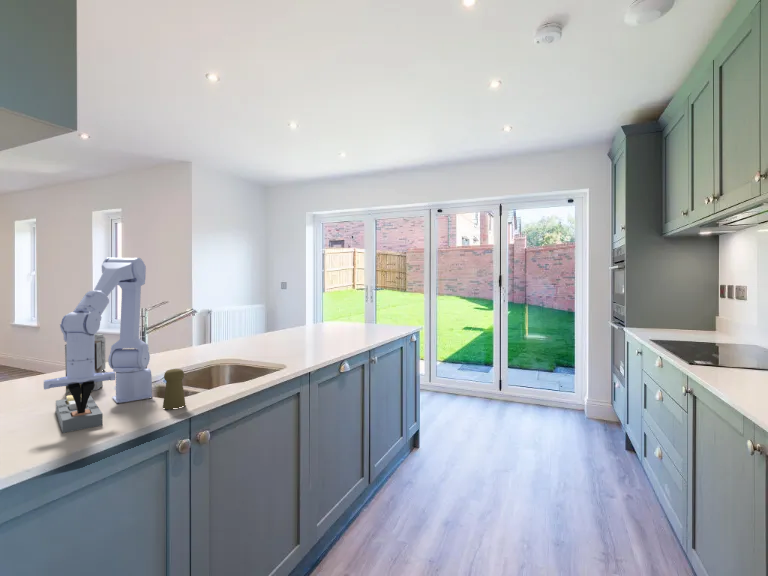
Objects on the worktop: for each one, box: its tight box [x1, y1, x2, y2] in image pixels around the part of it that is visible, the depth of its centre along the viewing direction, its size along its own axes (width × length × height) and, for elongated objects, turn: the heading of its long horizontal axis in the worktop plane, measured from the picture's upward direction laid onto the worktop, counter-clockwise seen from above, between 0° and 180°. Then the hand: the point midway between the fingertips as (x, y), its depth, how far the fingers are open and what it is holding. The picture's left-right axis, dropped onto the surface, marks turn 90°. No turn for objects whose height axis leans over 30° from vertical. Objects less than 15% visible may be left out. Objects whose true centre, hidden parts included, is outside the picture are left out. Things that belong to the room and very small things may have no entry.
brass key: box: [65, 394, 75, 404], centre depth 113 cm, size 4×4×3 cm
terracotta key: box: [71, 409, 91, 417], centre depth 103 cm, size 4×4×3 cm
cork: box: [162, 368, 186, 409], centre depth 118 cm, size 6×6×11 cm
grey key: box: [69, 401, 87, 410], centre depth 108 cm, size 4×4×3 cm
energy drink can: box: [95, 333, 106, 371], centre depth 164 cm, size 6×6×15 cm
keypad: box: [55, 394, 104, 434], centre depth 108 cm, size 8×22×3 cm, turn 43°
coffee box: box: [64, 340, 104, 393], centre depth 137 cm, size 9×6×16 cm
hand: (81, 412), depth 103 cm, fingers closed, pressing on terracotta key
